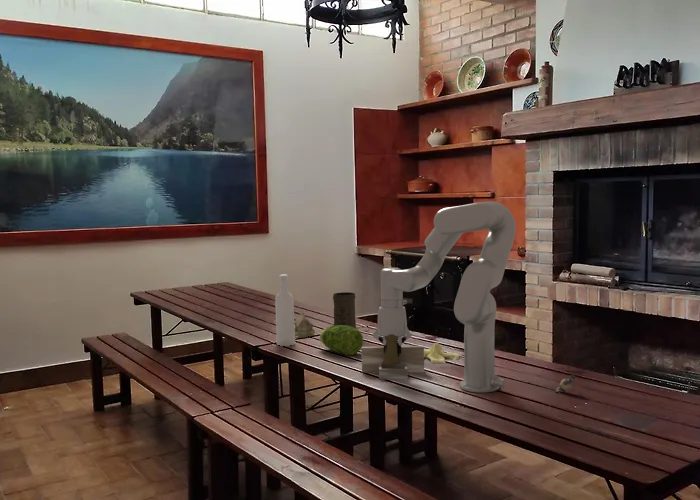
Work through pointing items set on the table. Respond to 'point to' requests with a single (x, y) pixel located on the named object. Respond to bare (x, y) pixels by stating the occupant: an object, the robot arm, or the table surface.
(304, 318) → the ceramic model
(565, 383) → the vase
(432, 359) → the cloth
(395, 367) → the wall board holder
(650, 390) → the table surface
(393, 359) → the olive rounded piece
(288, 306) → the bottle
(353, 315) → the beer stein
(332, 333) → the lettuce
